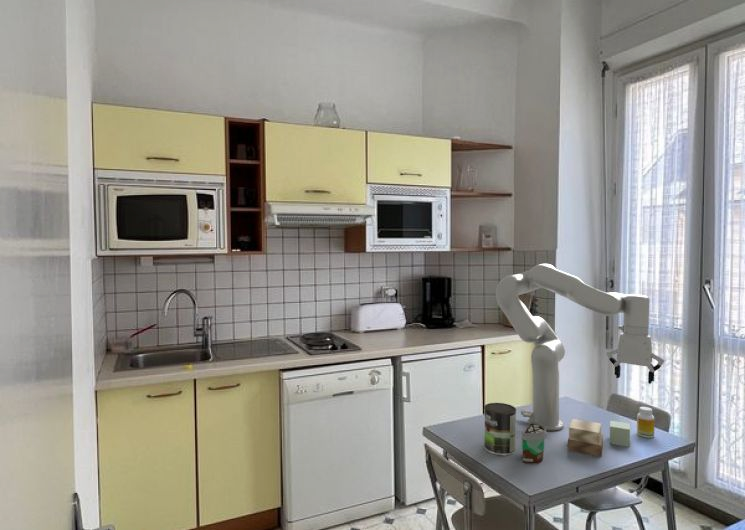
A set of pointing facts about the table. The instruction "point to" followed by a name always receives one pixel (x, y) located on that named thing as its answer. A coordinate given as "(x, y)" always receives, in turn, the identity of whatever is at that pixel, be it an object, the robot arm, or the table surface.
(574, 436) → the maple block
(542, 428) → the food container
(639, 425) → the supplement bottle
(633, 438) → the table surface
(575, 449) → the walnut block
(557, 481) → the table surface
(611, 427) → the sage block
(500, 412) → the coffee can
